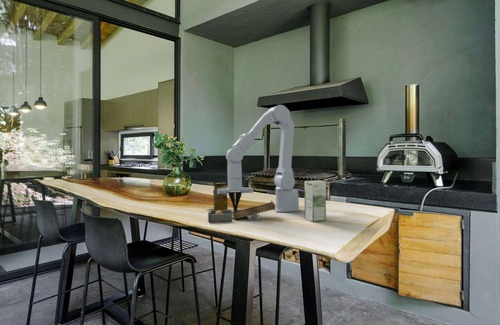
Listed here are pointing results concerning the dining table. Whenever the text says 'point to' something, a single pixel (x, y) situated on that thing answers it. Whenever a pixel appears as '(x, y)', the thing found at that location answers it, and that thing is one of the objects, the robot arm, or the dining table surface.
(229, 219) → the tray
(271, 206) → the lever
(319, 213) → the syrup box
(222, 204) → the condiment
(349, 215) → the dining table surface
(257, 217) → the fulcrum
